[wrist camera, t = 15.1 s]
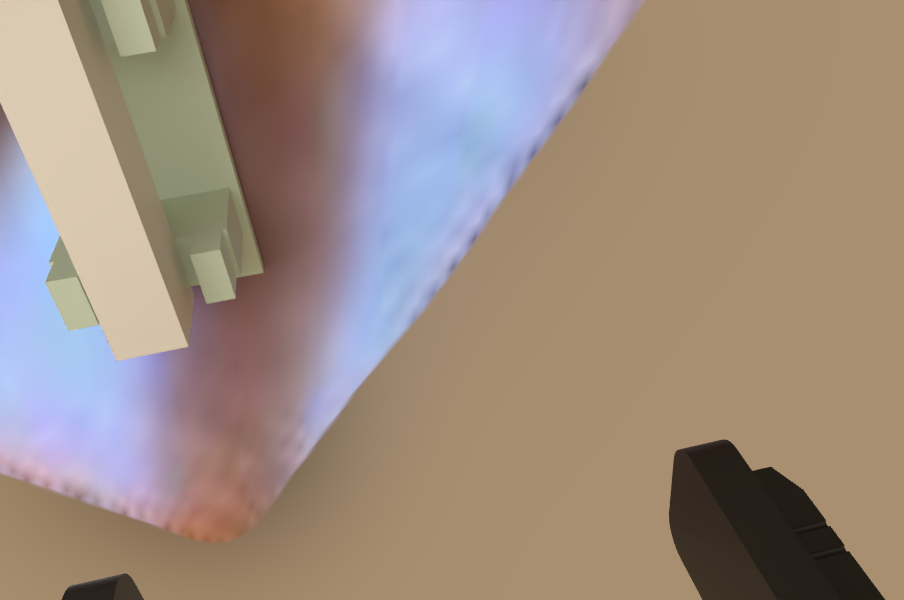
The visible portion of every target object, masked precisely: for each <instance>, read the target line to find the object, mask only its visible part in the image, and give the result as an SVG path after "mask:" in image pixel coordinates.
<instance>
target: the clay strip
mask: <svg viewBox="0 0 904 600" xmlns="http://www.w3.org/2000/svg"><path fill="white" fill-rule="evenodd" d="M0 103H1V105H2V107H3V109H4V112H5V114H6V116H7V118H8V120H9V123H10V125H11V127H12V129H13V132H14V134H15V136H16V138H17V140H18V143H19V145H20V147H21V149H22V152H23V154H24V156H25V158H26V160H27V163H28V165H29V167H30V169H31V172H32V174H33V176H34V178H35V180H36V183H37V185H38V187H39V189H40V192H41V194H42V196H43V198H44V200H45V203H46V205H47V207H48V209H49V212H50V214H51V216H52V218H53V220H54V223H55V225H56V227H57V229H58V232H59V234H60V236H61V238H62V240H63V243H64V245H65V247H66V249H67V252H68V254H69V256H70V258H71V260H72V263H73V265H74V267H75V269H76V272H77V274H78V276H79V278H80V280H81V283H82V285H83V287H84V289H85V292H86V294H87V296H88V298H89V300H90V303H91V305H92V307H93V309H94V312H95V314H96V316H97V318H98V320H99V323H100V325H101V327H102V329H103V332H104V334H105V336H106V338H107V340H108V343H109V345H110V347H111V349H112V352H113V354H114V356H115V358H116V360H117V361H119V360H124V359H129V358H134V357H139V356H144V355H149V354H154V353H159V352H164V351H169V350H174V349H180V348H185V347H188V346H189V338H190V330H191V322H192V313H193V305H194V294H193V291H192V288H191V286H190V283H189V280H188V277H187V274H186V272H185V269H184V266H183V263H182V260H181V257H180V255H179V252H178V249H177V246H176V243H175V240H174V238H173V235H172V232H171V229H170V226H169V224H168V221H167V218H166V215H165V212H164V209H163V207H162V204H161V201H160V198H159V195H158V192H157V190H156V187H155V184H154V181H153V178H152V176H151V173H150V170H149V167H148V164H147V161H146V159H145V156H144V153H143V150H142V147H141V144H140V142H139V139H138V136H137V133H136V130H135V127H134V125H133V122H132V119H131V116H130V113H129V111H128V108H127V105H126V102H125V99H124V96H123V94H122V91H121V88H120V85H119V82H118V79H117V77H116V74H115V71H114V68H113V65H112V63H111V60H110V57H109V54H108V51H107V48H106V46H105V43H104V40H103V37H102V34H101V31H100V29H99V26H98V23H97V20H96V17H95V14H94V12H93V9H92V6H91V3H90V0H0Z"/></svg>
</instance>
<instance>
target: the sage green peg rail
mask: <svg viewBox="0 0 904 600" xmlns="http://www.w3.org/2000/svg"><path fill="white" fill-rule="evenodd" d="M90 3H91V6H92V9H93V12H94V14H95V17H96V20H97V23H98V26H99V29H100V31H101V34H102V37H103V40H104V43H105V46H106V48H107V51H108V54H109V57H110V60H111V63H112V65H113V68H114V71H115V74H116V77H117V79H118V82H119V85H120V88H121V91H122V94H123V96H124V99H125V102H126V105H127V108H128V111H129V113H130V116H131V119H132V122H133V125H134V127H135V130H136V133H137V136H138V139H139V142H140V144H141V147H142V150H143V153H144V156H145V159H146V161H147V164H148V167H149V170H150V173H151V176H152V178H153V181H154V184H155V187H156V190H157V192H158V195H159V198H160V201H161V204H162V207H163V209H164V212H165V215H166V218H167V221H168V224H169V226H170V229H171V232H172V235H173V238H174V240H175V243H176V246H177V249H178V252H179V255H180V257H181V260H182V263H183V266H184V269H185V272H186V274H187V277H188V280H189V283H190V286H191V287H192V286H197V285H200V286H201V289H202V292H203V295H204V298H205V301H206V303H207V304H209V303H214V302H219V301H224V300H229V299H234V298H236V279H237V278H239V277H244V276H249V275H255V274H260V273H263V261H262V258H261V254H260V251H259V247H258V244H257V241H256V237H255V234H254V230H253V227H252V223H251V220H250V216H249V213H248V209H247V206H246V202H245V199H244V195H243V192H242V188H241V185H240V181H239V178H238V174H237V171H236V167H235V164H234V160H233V157H232V153H231V150H230V146H229V143H228V139H227V136H226V132H225V129H224V125H223V122H222V118H221V115H220V112H219V108H218V105H217V101H216V98H215V94H214V91H213V87H212V84H211V80H210V77H209V73H208V70H207V66H206V63H205V59H204V56H203V52H202V49H201V45H200V42H199V38H198V35H197V31H196V28H195V24H194V21H193V17H192V14H191V10H190V7H189V3H188V0H90ZM49 264H50V266H51V270H50V272H49V274H48V277H47V279H46V282H45V283H46V285H47V287H48V289H49V291H50V293H51V295H52V298H53V300H54V302H55V304H56V306H57V308H58V310H59V312H60V314H61V316H62V318H63V320H64V322H65V324H66V326H67V328H68V330H69V331H70V330H75V329H80V328H86V327H91V326H96V325H99V320H98V318H97V316H96V314H95V312H94V309H93V307H92V305H91V303H90V300H89V298H88V296H87V294H86V292H85V289H84V287H83V285H82V283H81V280H80V278H79V276H78V274H77V272H76V269H75V267H74V265H73V263H72V260H71V258H70V256H69V254H68V252H67V249H66V247H65V245H64V243H63V240H62V238H61V236H60V237H59V240H58V242H57V244H56V247H55V249H54V251H53V254H52V256H51V259H50V261H49Z"/></svg>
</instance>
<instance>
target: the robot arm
mask: <svg viewBox="0 0 904 600" xmlns="http://www.w3.org/2000/svg"><path fill="white" fill-rule="evenodd" d="M669 522H670V529H671V533H672V537H673V540H674V544H675V546H676V549H677V551H678V554H679V556H680V558H681V560H682V562H683V563H684V565H685V567H686V569H687V571H688V573H689V575H690V577H691V579H692V581H693V582H694V584H695V586H696V588H697V590H698V592H699V594H700V596H701V598H702V600H885V599H884V598H883V596H882V595H881V594H880V592H879V591H878V590H877V588H876V587H875V586H874V584H873V583H872V582H871V580H870V579H869V577H868V576H867V575H866V573H865V572H864V571H863V569H862V568H861V567H860V565H859V564H858V563H857V561H856V560H855V559H854V557H853V556H852V555H851V554H850V552H849V551H848V552H847V551H846V550H845V548H844V544H843V543H842V541H841V540H840V539H839V537H838V536H837V534H836V533H835V532H834V531H833V529H832V528H831V526H829V527H828V526H827V524H826V520H825V518H824V517H823V516H822V514H821V513H820V512H819V510H818V509H817V508H816V506H815V505H814V504H813V502H812V501H811V500H810V498H809V497H808V496H807V494H806V493H805V492H804V490H803V489H801V488H800V487H798V486H797V485H796V484H794V483H793V482H791V481H790V480H788V479H787V478H786V477H784V476H783V475H782V474H780V473H779V472H777V471H776V470H774V469H773V468H772V467H768V468H763V469H759V470H755V471H752V470H751V469H750V467H749V466H748V464H747V463H746V462H745V460H744V459H743V457H742V456H741V454H740V453H739V451H738V450H737V449H736V447H735V446H734V445H733V444H732V443H731V442H730V441H728V440H719V441H715V442H710V443H706V444H702V445H697V446H693V447H689V448H684V449H680V450H677V451H676V453H675V456H674V464H673V475H672V486H671V497H670V509H669ZM62 600H144V599H143V597H142V595H141V594H140V592H139V590H138V589H137V586H136V585H135V583H134V581H133V579H132V578H131V577H130V576H129V575H128V574H121V575H116V576H112V577H107V578H103V579H99V580H94V581H90V582H85V583H81V584H77V585H72V586H70V587H69V588H68V589H67V590H66V591H65V593H64V595H63V598H62Z"/></svg>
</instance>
